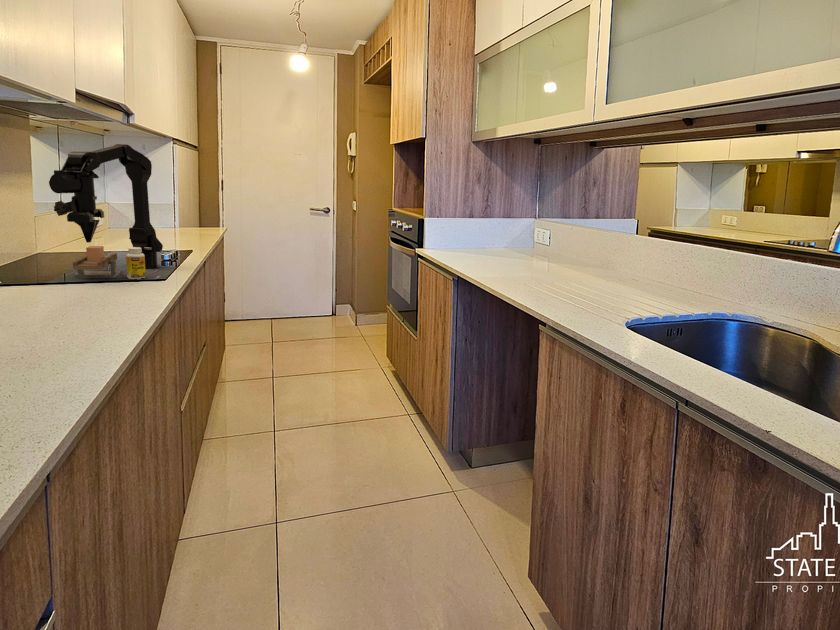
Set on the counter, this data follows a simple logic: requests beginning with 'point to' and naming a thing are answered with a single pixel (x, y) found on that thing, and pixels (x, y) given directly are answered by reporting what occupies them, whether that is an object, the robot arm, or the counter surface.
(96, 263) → the brown tray
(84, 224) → the robot arm
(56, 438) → the counter surface
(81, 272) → the pivot stand
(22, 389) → the counter surface
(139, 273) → the supplement bottle
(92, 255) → the rider block
